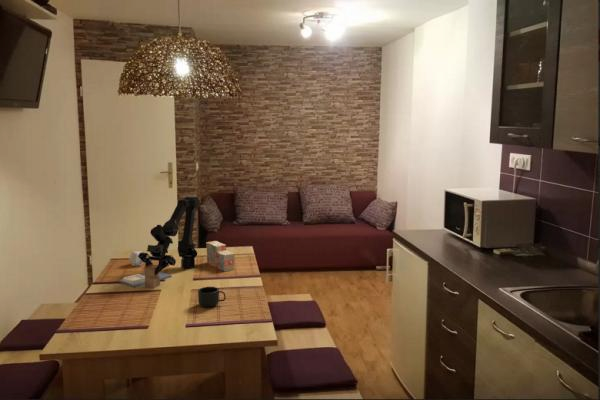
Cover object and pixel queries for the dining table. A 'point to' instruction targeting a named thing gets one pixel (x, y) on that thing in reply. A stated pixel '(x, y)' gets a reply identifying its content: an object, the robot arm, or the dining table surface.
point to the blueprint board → (140, 279)
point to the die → (135, 259)
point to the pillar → (151, 276)
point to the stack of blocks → (219, 256)
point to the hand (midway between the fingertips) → (150, 273)
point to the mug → (209, 296)
